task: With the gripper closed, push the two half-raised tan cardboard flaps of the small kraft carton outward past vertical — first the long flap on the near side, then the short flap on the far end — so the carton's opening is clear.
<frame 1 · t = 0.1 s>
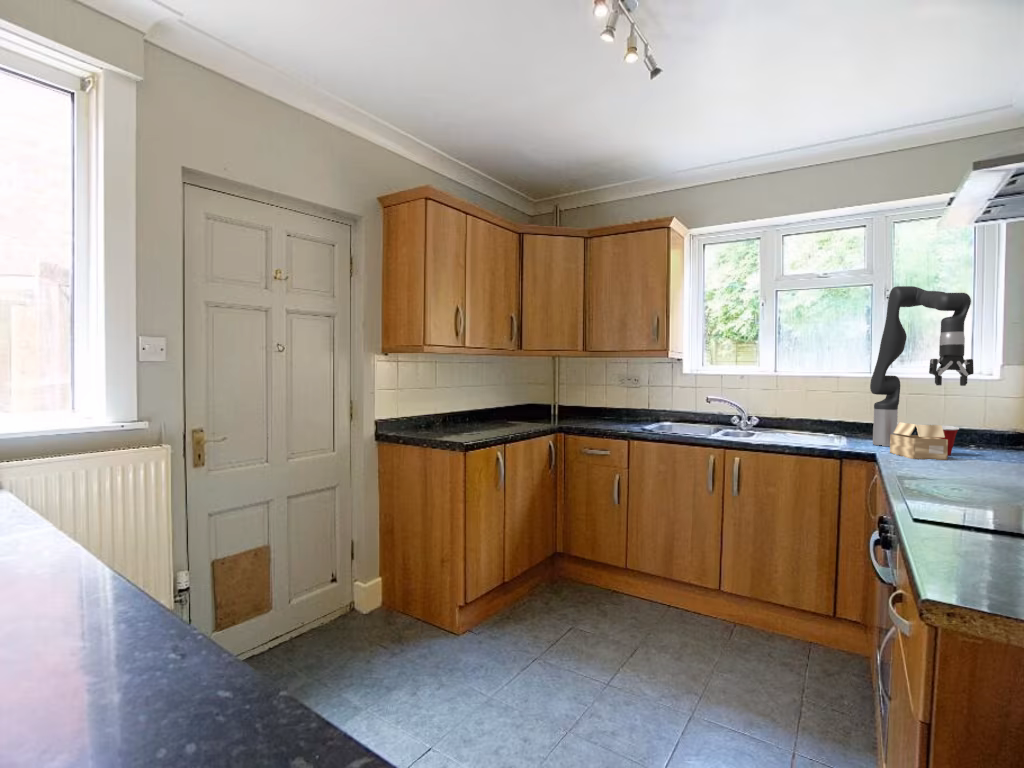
hand: (950, 385, 206), 29 cm above the countertop, fingers open, 8 cm apart
plastic cup: (941, 455, 221), on the countertop
long flap: (904, 428, 214), point 11 cm above the countertop, hinge at 65.0°
short flap: (930, 431, 206), point 11 cm above the countertop, hinge at 65.0°
carton: (917, 456, 213), on the countertop
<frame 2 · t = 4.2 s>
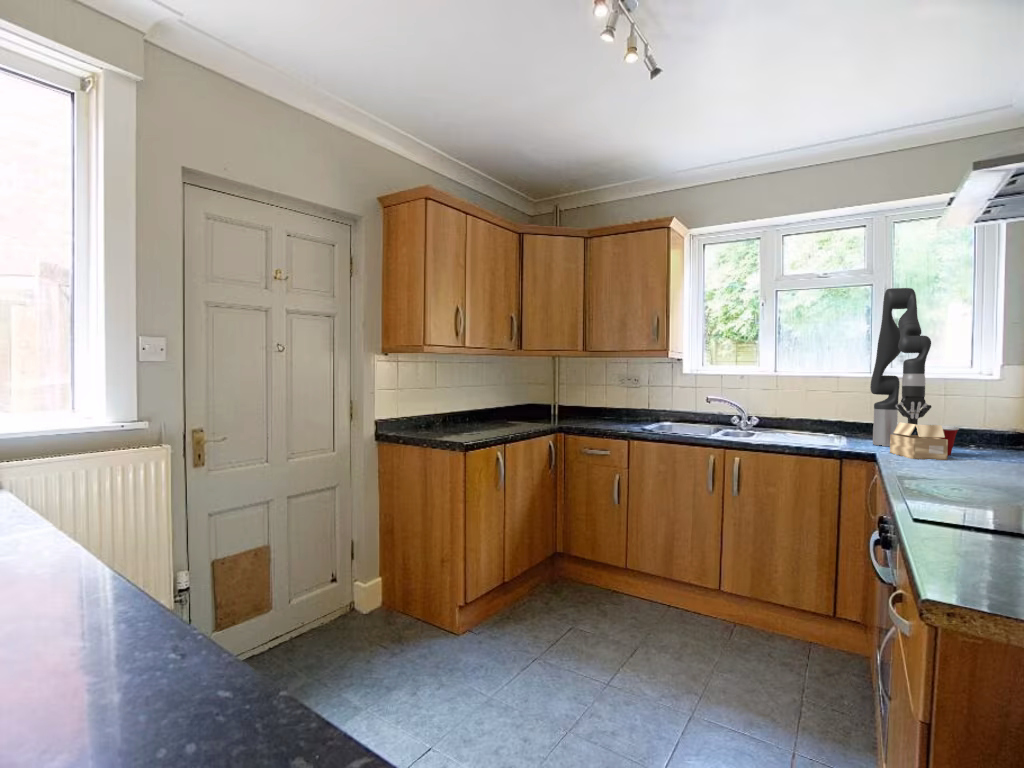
hand: (912, 427, 213), 12 cm above the countertop, fingers closed
long flap: (904, 428, 214), point 11 cm above the countertop, hinge at 65.1°, touching gripper
everything else where it was.
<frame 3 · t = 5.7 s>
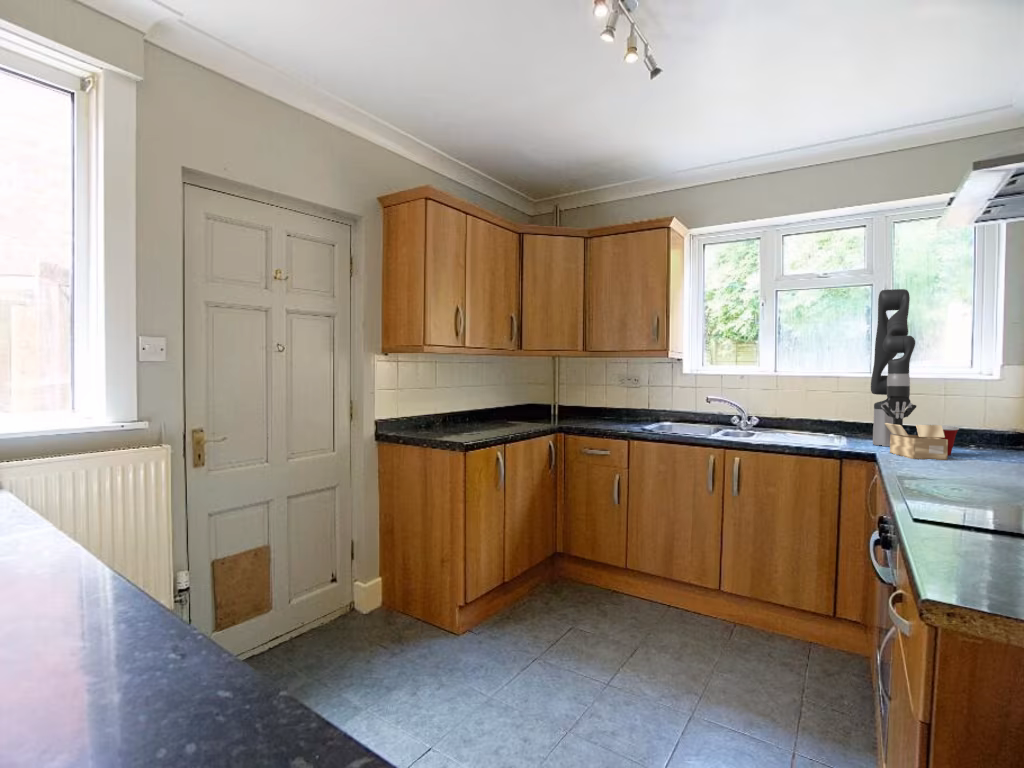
hand: (897, 427, 214), 11 cm above the countertop, fingers closed
long flap: (896, 429, 214), point 11 cm above the countertop, hinge at 126.2°, touching gripper
everything else where it was.
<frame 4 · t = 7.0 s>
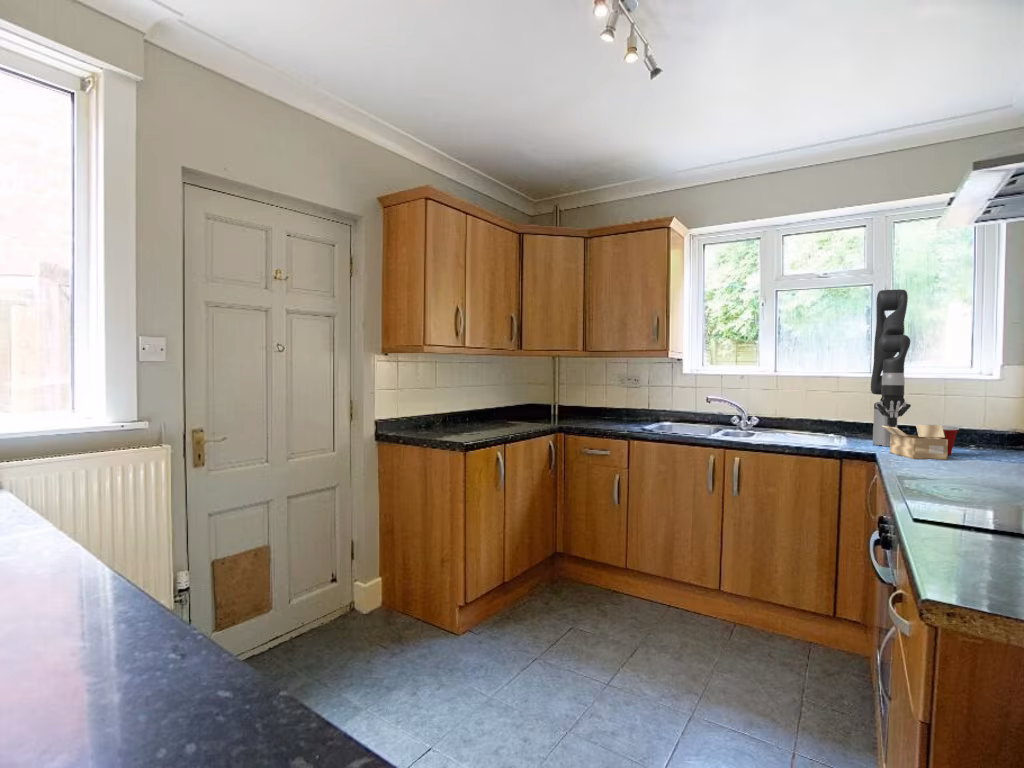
hand: (891, 426, 214), 12 cm above the countertop, fingers closed
long flap: (894, 430, 214), point 10 cm above the countertop, hinge at 143.6°
everything else where it was.
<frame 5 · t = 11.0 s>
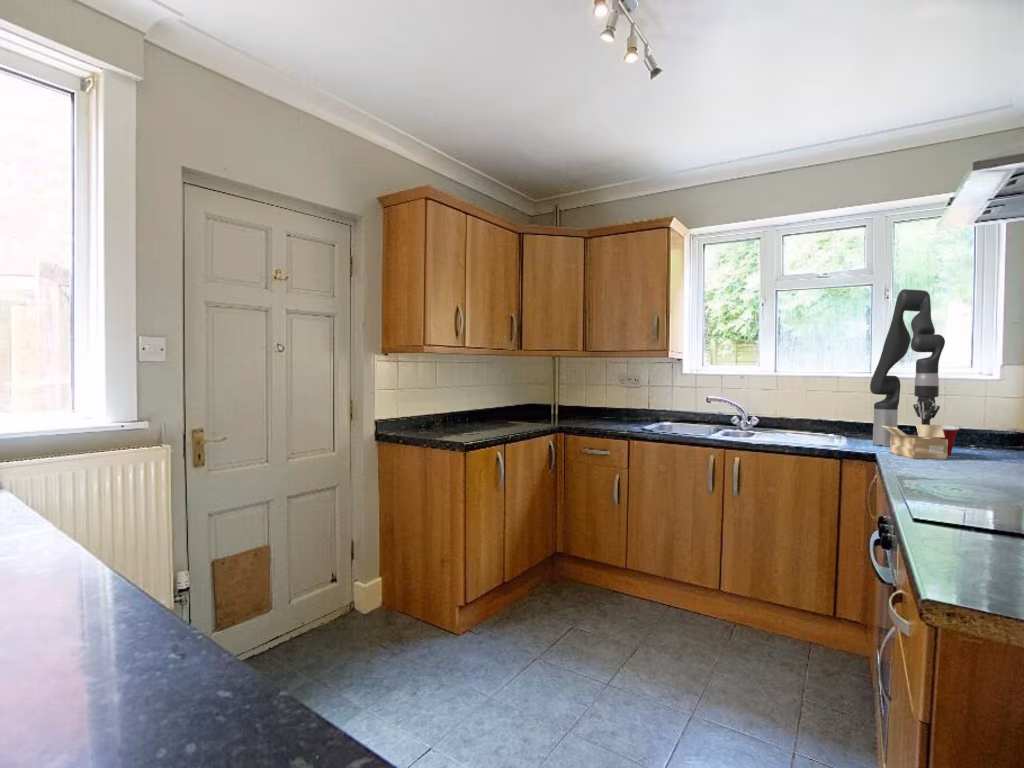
hand: (925, 428, 209), 12 cm above the countertop, fingers closed
short flap: (930, 431, 206), point 11 cm above the countertop, hinge at 65.0°, touching gripper
everything else where it was.
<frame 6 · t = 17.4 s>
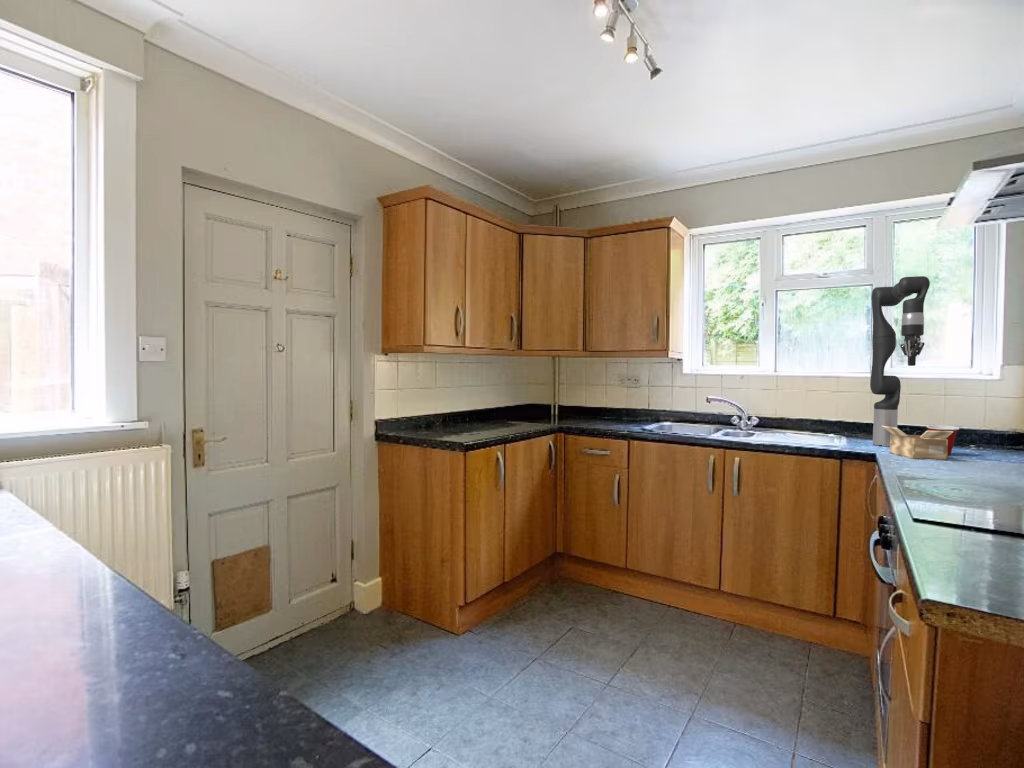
hand: (911, 365, 221), 37 cm above the countertop, fingers closed
short flap: (936, 434, 202), point 10 cm above the countertop, hinge at 144.8°
everything else where it was.
at the end: long flap at +144° (first picture: +65°); short flap at +145° (first picture: +65°) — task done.
